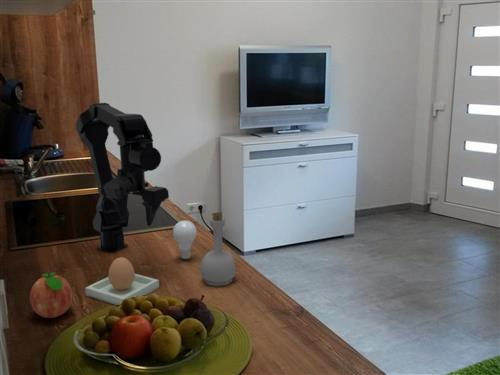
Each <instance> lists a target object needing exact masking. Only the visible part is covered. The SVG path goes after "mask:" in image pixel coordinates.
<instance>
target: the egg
mask: <svg viewBox="0 0 500 375" xmlns="http://www.w3.org/2000/svg"><path fill="white" fill-rule="evenodd" d="M135 274H136V273H135V269H134V266H133V264H132V262H131V261H130V260H129V259H128V258H125V257H122V256H121V257H118V258H115V259H114V260H113V261H112V262H111V264H110V266H109V270H108V277H109V281H110V283H111V285H112V286H113V287H114V288H116V289H118V290H125V289H127V288H129V287H130V286H131V284H132V283H133V281H134V277H135Z"/></svg>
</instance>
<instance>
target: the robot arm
mask: <svg viewBox="0 0 500 375" xmlns="http://www.w3.org/2000/svg"><path fill="white" fill-rule="evenodd" d="M110 127H111V128H112V129H113V130H112V133H113V134H114V135H115V136H116V138H117V140H118V141H117V143H116V145H117V146H119V152H120V153H119V155H120V156H119V157H120V158H119V159H120V168H118V169H117V171H116V177H114V176H113V173H112V168H111V163H110V160H109V155H108V150H107V146H106V143H107V140H108V137H109V128H110ZM75 130H76V133H77V134H78V135H79V139H80V141H81V143H82V144H83V145H85V146H86V147H87V149H88V151H89V152H88V153H89V156H90V160H91V165H92V168H93V169H92V170H93V174H94V178H95V183H96V188H97V192H98V196H99V199H98V200H97V203H96V207H95V210H96V213H95V215H94V218H93V221H92V226H93V229H94V230H96V231H97V232H99V241H100V245H99V246H97V247H96V250H99V251H103V252H107V253H110V254H111V253H116V252H118V251H121V250H123V249H125V248H127V247H129V246H128V244H126V243H125V237H124V236H125V235H124V231H123V229H124V228H128V226H129V218H130V217H129V216H130V212H129V208H128V199H129V195H134V196H135V195H136V196H141V200H143V201H142V202H141V204H142V205H143V207H144V208H145V217H146V225H147V226H148V227H150V226H152V224H153V223H154V219H155V216H157V213H158V210H159V208H160V206H161V204H162V202H165V201H166V200H167V199H169V196H170V195H169V194H170V193H169V190H168V188H167V187H163V186H157V185H155V186H151V187H149V182H148V181H147V182H146V179H145V172H148V171H149V172H150V171H155V170H156V169H158V167H160V164H161V162H162V155H161V153H160V151H159V150H158V149H157V148H156V147H154V143H153V142H154V139H153V134H152V131H151V129H150V128H149V126H148V123H147V120H146V119H145V118H144V116H142V114H140V113H127V112H123V111H122V110H119V109H117V108H115V107H113V106H112V105H110V103H107V102H96V103H92V104H90V105H89V106H88V108H87V109H86V110H85V111H83V112H82V113H80V114H79V115H78V118H77V120H76V122H75Z"/></svg>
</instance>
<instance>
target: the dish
mask: <svg viewBox="0 0 500 375" xmlns="http://www.w3.org/2000/svg"><path fill="white" fill-rule="evenodd" d="M159 288H160V281H159V279H156V278H153V277H149V276H145V275H141V274H137V273H135V277H134V281H133V283H132V284H131V286H130V287H129V288H127V289H125V290H118V289H116V288H114V287H113V286H112V285H111V283H110V281H109V276H107V277H105V278H103V279H101V280H99V281H96V282H95V283H92V284H90V285H88V286H85V287H84V289H85V296H86V297H88V298H93V299H95V300H98V301H102V302H105V303H108V304H111V305H113V306H117V305H119V304H121V303H122V301H123V300H125V299H128V298H131V297H136V296H142V295H145V296H147V295H149V294H151V293H152V292H154V291H156V290H157V289H159Z"/></svg>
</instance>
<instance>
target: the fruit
mask: <svg viewBox="0 0 500 375" xmlns="http://www.w3.org/2000/svg"><path fill="white" fill-rule="evenodd" d="M41 276H42V277H40V278H39V279H37V280H36V281H35V282H34V284H33V285H32V287H31V289H30V295H29V303H30V306H31V308H32V310H33V311H34V312H35V313H36V314H37V315H38V316H40V317H42V318H45V319H54V318H57V317H60V316H62V315H63V314H65V313H66V312H67V311H68V310H69V308H70V306H71V305H72V302H73V297H74V296H73V289H72V287H71V284H70V283H69V282H68V280H67V279H66V278H64V277H62V276H60V275H58V274H57V272H51V271H49V270H48V271H47V273H46V272H45V273H43V274H41Z"/></svg>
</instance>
